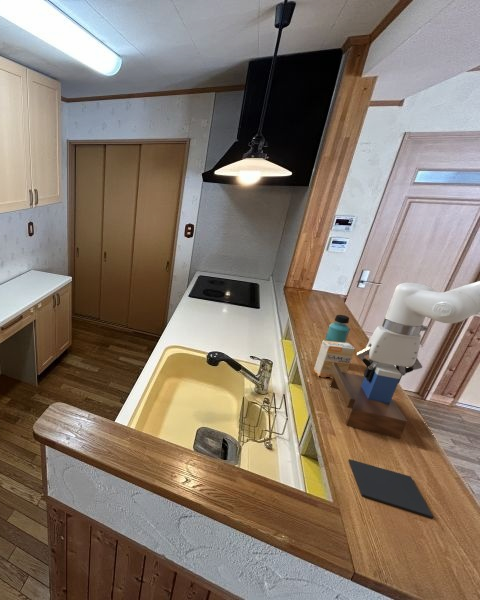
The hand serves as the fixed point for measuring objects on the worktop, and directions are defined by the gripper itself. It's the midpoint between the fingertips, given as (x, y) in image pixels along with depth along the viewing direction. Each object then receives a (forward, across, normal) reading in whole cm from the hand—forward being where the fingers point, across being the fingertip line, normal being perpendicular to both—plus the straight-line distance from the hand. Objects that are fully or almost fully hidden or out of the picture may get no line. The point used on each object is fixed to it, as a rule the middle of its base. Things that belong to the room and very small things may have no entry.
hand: (379, 381), depth 97 cm
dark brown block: (+11, +2, 0) cm, 11 cm away
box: (+5, 0, 0) cm, 5 cm away
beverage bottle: (+11, +5, -29) cm, 31 cm away
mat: (+11, +5, +32) cm, 34 cm away
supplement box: (+11, +7, -18) cm, 22 cm away
